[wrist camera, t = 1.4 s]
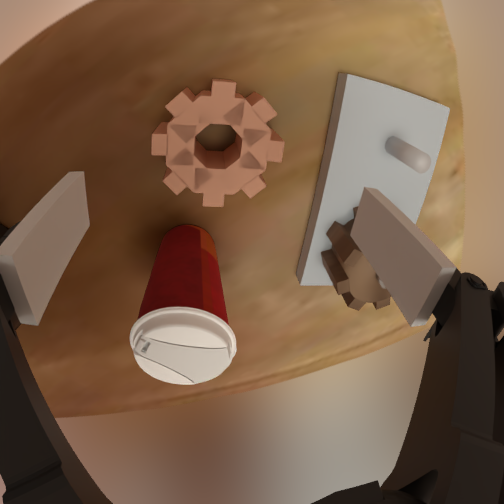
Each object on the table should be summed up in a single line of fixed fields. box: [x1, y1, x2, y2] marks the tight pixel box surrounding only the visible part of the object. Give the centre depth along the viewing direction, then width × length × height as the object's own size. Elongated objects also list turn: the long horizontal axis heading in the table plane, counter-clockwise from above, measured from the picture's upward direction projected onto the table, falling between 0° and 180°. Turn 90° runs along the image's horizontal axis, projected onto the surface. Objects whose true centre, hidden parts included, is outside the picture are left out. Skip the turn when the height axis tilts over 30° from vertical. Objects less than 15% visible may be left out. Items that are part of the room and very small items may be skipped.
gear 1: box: [151, 79, 285, 207], centre depth 24 cm, size 10×10×5 cm
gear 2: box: [321, 206, 391, 311], centre depth 29 cm, size 10×10×6 cm
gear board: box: [296, 73, 450, 285], centre depth 28 cm, size 12×22×7 cm, turn 173°
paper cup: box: [130, 225, 237, 385], centre depth 26 cm, size 8×8×14 cm
